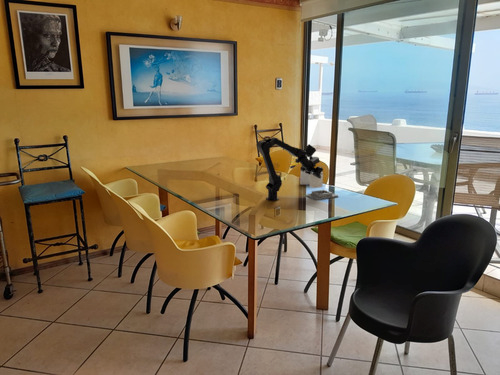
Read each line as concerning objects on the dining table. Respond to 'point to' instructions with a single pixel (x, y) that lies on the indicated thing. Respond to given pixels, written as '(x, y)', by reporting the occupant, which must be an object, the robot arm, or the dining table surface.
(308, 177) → the photo printer
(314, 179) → the plug
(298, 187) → the dining table surface
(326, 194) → the socket board
